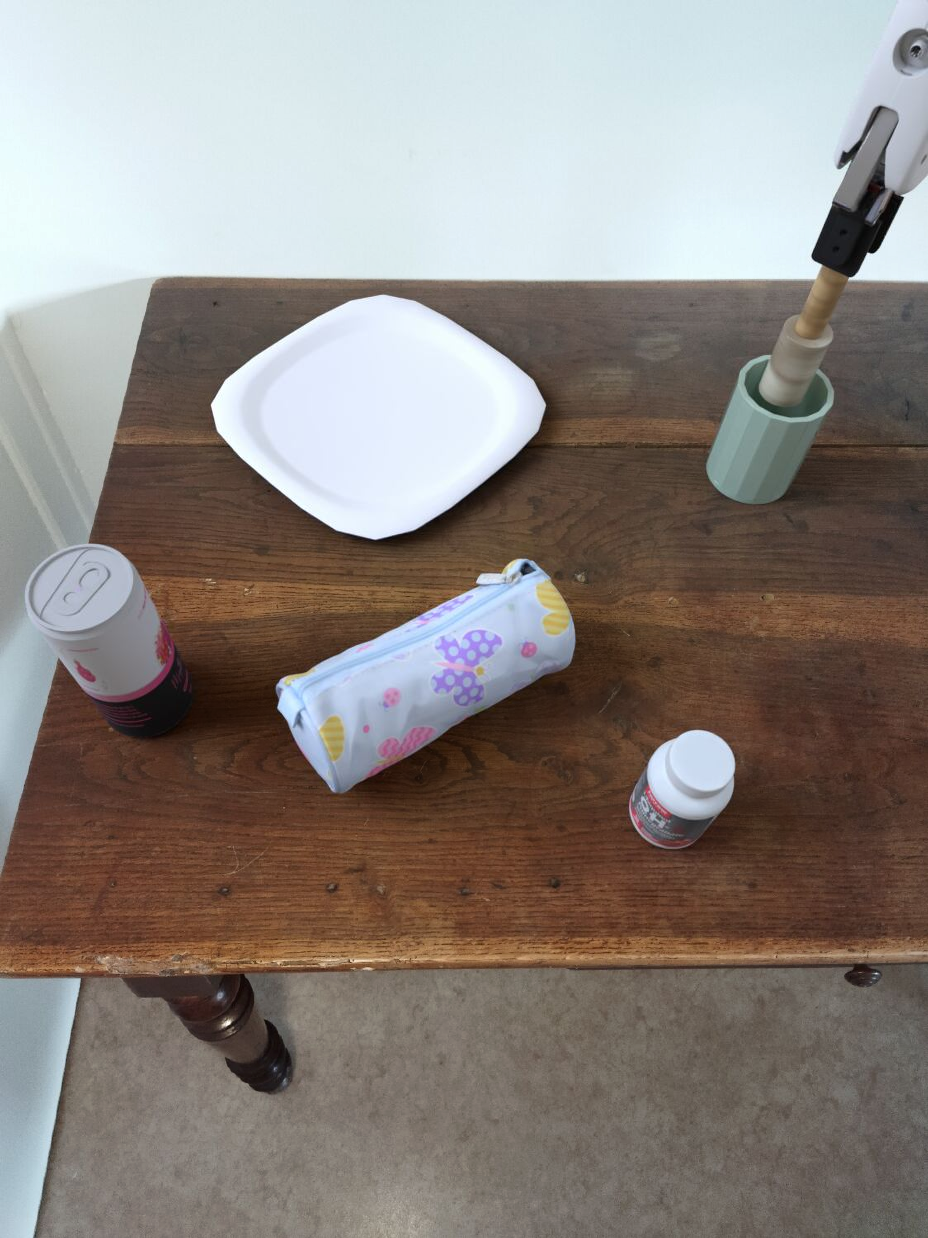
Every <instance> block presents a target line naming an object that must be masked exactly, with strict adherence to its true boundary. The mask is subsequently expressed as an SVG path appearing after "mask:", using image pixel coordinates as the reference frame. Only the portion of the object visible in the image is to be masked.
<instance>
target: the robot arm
mask: <svg viewBox="0 0 928 1238" xmlns="http://www.w3.org/2000/svg"><path fill="white" fill-rule="evenodd" d="M851 104H852V105H851V107H850V109H849V111H848V114H847V117H846V118H845V121H844V125H843V126H842V129H841V133H840V135H839V138H838V141H837V144H836V147H835V150H834V154H833V163H834V166H835V168H836V170H842V169H844V168H845V166H847V165H848V164H849V165H848V167H847V169H846V172H845V175H844V176H843V179H842V181H841V183H840V184H839V187H838V189H837V191H836V193H835V194H834V196H833V198H832V201H831V206H830V208H829V211H828V214H827V216H826V219H825V221H824V223H823V225H822V228H821V230H820V232H819V235H818V237H817V240H816V242H815V244H814V247H813V249H812V252H811V255H810V257H811V260H812V261H813V262H815V263H817V264H820V265H821V266H822V265H823V266H826V267H828V268H830V269H832V270H834V271H836V272H838V273H840V274H843V275H845V276H847V277H849V278H853V277H855V276H856V275H857V274H858V273H859V271H860V270H861V267H862V265H863V263H864V261H865V260H866V256H867V255H868V254H870V255H873V254H875V253H877V252H878V251H879V250H880V248H881V247H882V244H883V242H884V240H885V238H886V236H887V234H888V232H889V230H890V228H891V226H892V224H893V221H894V220H895V217H896V216H897V214H898V212H899V210H900V207H901V205H902V204H903V202H904V199H905V196H903V195H906V194H908V193H910V192H912V191H914V190H915V189H916V188H917V187H918V186H919V185H920V184H921V183H922V182H923V181H924V180H925V179H926V178H927V176H928V0H897V1H896V3H895V6H894V8H893V10H892V12H891V13H890V15H889V16H888V19H887V23H886V25H885V28H884V30H883V32H882V34H881V37H880V38H879V42H878V43H877V45H876V47H875V50H874V52H873V54H872V57H871V59H870V61H869V63H868V66H867V68H866V70H865V73H864V75H863V78H862V80H861V83H860V85H859V88H858V90H857V92H856V94H855V96H854V99H853V102H852V103H851ZM870 182H872V183H874V184H877V185H879V186H880V188H879V190H878V192H877V194H876V197H875V199H874V192H873V191H871V190H869V189H867V187H868V185H869V183H870ZM892 190H893V191H894V192H893V194H892V196H891V198H890V200H889V202H888V204H887V206H886V208H885V210H884V212H883V213H882V214H881V212H882V210H883V208H884V206H885V204H886V202H887V200H888V198H889V196H890V194H891V191H892Z"/></svg>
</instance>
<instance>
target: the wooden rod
mask: <svg viewBox="0 0 928 1238" xmlns="http://www.w3.org/2000/svg"><path fill="white" fill-rule="evenodd" d="M879 188H880V186H879V185H877V184H874V183H872V182H870V183H869V185H868V187H867V189H869V190H871V191H873V192H874V199H875V197H876V194H877V192H878V190H879ZM893 192H894V191H893V190H892V191H891V194H890V196H889V198H888V200H887V202H886V204H885V206H884V208H883V210H882V212H881V214H882V213H883V212H884V210H885V208H886V206H887V204H888V202H889V200H890V198H891V196H892V194H893ZM849 279H850V277H847V276H845V275H843V274H840V273H838V272H836V271H834V270H832V269H830V268H828V267H826V266H823V265H821V266H820V269H819V270H818V272H817V275H816V278H815V279H814V280H815V281H814V283H813V284H812V287H811V290H810V292H809V294H808V297H807V299H806V302H805V304H804V305H803V308H802V310H801V313H800V314H795V315H792V316H790V317H788V318H787V319H786V320H785V322H784V324H783V326H782V328H781V331H780V334H779V336H778V338H777V340H776V343H775V345H774V347H773V350H772V352H771V354H770V355H771V357H770V359H769V362H768V364H767V367H766V369H765V371H764V374H763V376H762V378H761V381H760V383H759V391H760V394H761V395H762V397H763V398H764V399H765V400H766V401H768V402H769V403H771V404H773V405H776V406H780V407H792V406H796V405H798V404H799V403H801V402H802V400H803V399H804V397H805V395H806V393H807V391H808V389H809V387H810V385H811V382H812V380H813V378H814V376H815V374H816V372H817V370H818V369H819V368H820V366H821V364H822V362H823V360H824V358H825V356H826V354H827V352H828V350H829V347H830V345H831V343H832V341H833V340H834V331H833V329H832V327H831V325H830V324H829V321H830V319H831V318H832V315H833V313H834V311H835V309H836V307H837V305H838V302H839V300H840V299H841V296H842V294H843V292H844V289H845V288H846V285H847V284H848V281H849Z"/></svg>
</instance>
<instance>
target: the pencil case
mask: <svg viewBox="0 0 928 1238" xmlns="http://www.w3.org/2000/svg"><path fill="white" fill-rule="evenodd" d="M475 584H477V585H479V586H477V587H474V588H473V589H470V590H467V591H466V592H464V593H462V594H460V595H458V596H456V597H454V598H451V599H449V600H447V601H445V602H443V603H440V604H439V605H437V606H436V607H434V608H432V609H430V610H428V611H426V612H424V613H422V614H420V615H419V616H417V617H414V618H413V619H411V620H409V621H407V622H405V623H403V624H402V625H400V626H399V627H396V628H393V629H391V630H389V631H386V632H385V633H383V634H381V635H380V636H378V637H376V638H374V639H372V640H368V641H366V642H362V643H360V644H357V645H353V646H352V647H349V648H347V649H346V650H344V651H342V652H341V653H339V654H336V655H333V656H332V657H331V656H330V657H329V658H327V659H325V660H323V661H321V662H320V663H318V664H316V665H314V666H313V667H311V668H310V669H309V670H308V671H306V672H302V673H295V674H289V675H286V676H284V677H282V678H281V679H279V681H278V683H277V684H276V686H275V693H276V695H277V698H278V703H277V710H278V711H279V712H280V713H281V715H282V716H283V717H284V718H285V720H286V722H287V724H288V728H289V730H290V733H291V734H292V736H293V738H294V742H295V743H296V745H297V746H298V748H299V750H300V751H301V753H302V755H303V756H304V758H306V760H307V761H308V762H309V763H310V765H311V766H312V768H313V769H314V770H315V771H316V773H317V774H318V775H319V776H320V777H321V778H322V780H324V781H325V782H326V784H327V786H328V787H329V788H330V790H331V791H332V793H334V794H340V795H342V794H344V793H346V792H348V791H350V790H351V789H352V788H353V787H354V786H355V785H357V784H359V783H361V782H363V781H365V780H367V779H368V778H370V777H373V776H375V775H377V774H379V773H380V772H381V771H383V770H385V769H387V768H389V767H391V766H393V765H394V764H397V763H398V762H400V761H402V760H404V759H406V758H408V757H409V756H411V755H413V754H415V753H416V752H418V751H419V750H421V749H422V748H424V747H425V746H427V745H429V744H430V743H432V742H433V741H435V740H437V739H438V738H439V737H441V736H442V735H443V734H445V733H446V732H447V731H448V730H450V729H452V727H454V726H456V725H459V724H460V723H462V722H463V721H464V720H466V719H467V718H470V717H472V716H474V715H476V714H479V713H480V712H483V711H485V710H486V709H489V708H491V707H492V706H494V705H496V704H497V703H499V702H501V701H503V700H504V699H506V698H508V697H509V696H512V695H513V694H515V693H516V692H518V691H520V690H522V689H524V688H526V687H528V686H529V685H531V684H533V683H534V682H536V681H537V680H539V679H541V677H543V676H545V675H549V674H554V673H557V672H560V671H563V670H565V669H566V668H567V667H569V665H570V664H571V663H572V659H573V656H574V652H575V647H576V630H575V623H574V620H573V617H572V614H571V611H570V609H569V607H568V605H567V603H566V601H565V599H564V598H563V596H562V595H561V593H560V592H559V590H558V589H557V587H556V586H555V585H554V584H553V582H552V578H551V576H549V575H548V574H547V573H546V572H545V571H544V570H543V569H542V568H541V567H540V566H539V565H538V564H537V563H536V562H535V561H534V560H530V559H528V558H516V559H514V560H512V561H510V562H509V563H508V564H507V565H505V567H504V568H503V570H502V572H501V573H480V574H479V576H478V577H477V579H476V583H475Z"/></svg>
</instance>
